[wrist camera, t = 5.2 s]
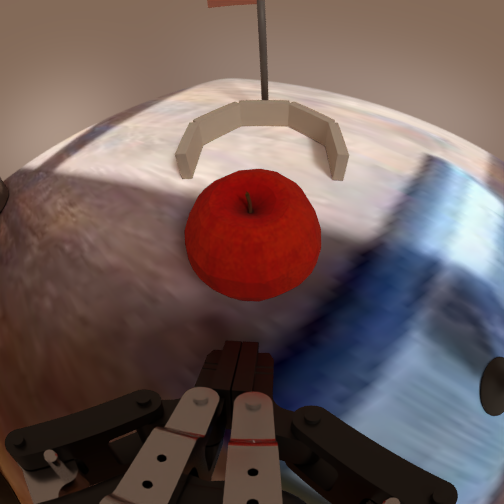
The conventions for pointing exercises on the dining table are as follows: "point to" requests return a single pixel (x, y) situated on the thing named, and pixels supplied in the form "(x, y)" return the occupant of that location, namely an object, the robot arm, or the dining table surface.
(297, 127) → the cup
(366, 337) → the dining table surface
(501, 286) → the dining table surface
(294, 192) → the apple
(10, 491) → the pillar candle
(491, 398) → the sundae
